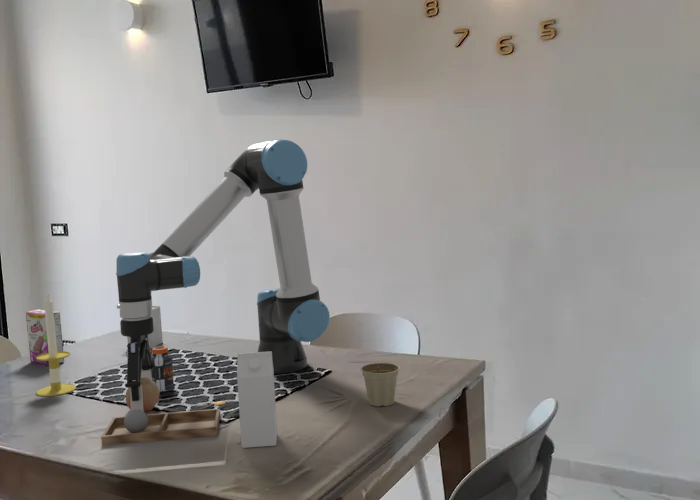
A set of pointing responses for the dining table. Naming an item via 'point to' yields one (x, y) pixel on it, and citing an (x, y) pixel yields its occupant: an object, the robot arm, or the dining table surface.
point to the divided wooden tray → (165, 427)
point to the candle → (53, 357)
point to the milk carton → (256, 399)
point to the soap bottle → (156, 335)
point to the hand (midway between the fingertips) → (142, 404)
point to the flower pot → (380, 382)
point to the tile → (207, 403)
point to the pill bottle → (162, 368)
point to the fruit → (146, 394)
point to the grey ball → (135, 421)
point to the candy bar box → (41, 334)
